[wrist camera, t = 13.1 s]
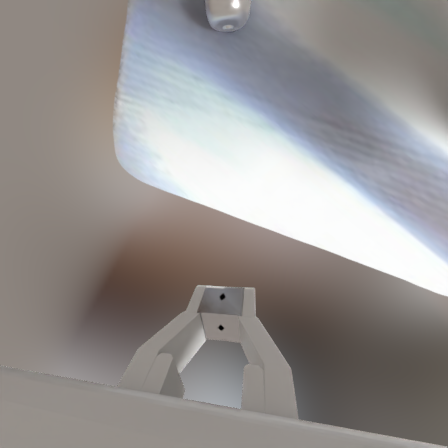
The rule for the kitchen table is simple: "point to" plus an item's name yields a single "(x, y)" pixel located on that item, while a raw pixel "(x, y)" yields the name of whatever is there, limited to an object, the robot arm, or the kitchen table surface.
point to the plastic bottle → (227, 14)
